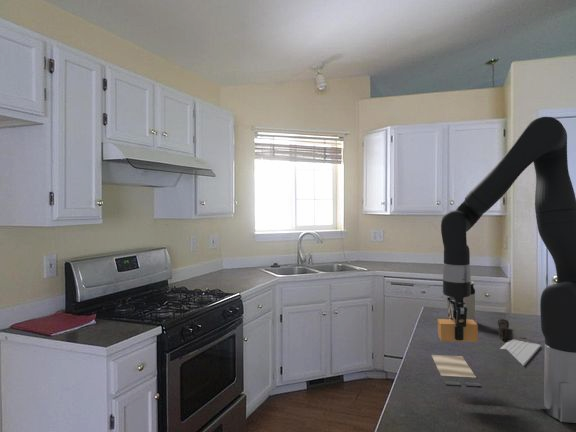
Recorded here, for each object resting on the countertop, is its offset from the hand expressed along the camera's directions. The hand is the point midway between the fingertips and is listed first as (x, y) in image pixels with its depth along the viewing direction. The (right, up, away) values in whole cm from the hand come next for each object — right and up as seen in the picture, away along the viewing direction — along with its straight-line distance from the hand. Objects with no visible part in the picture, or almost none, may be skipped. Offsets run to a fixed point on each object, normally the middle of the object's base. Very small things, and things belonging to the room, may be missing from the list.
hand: (456, 336), depth 122 cm
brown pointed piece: (+38, -13, +45) cm, 60 cm away
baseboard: (+28, -14, +23) cm, 39 cm away
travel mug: (+29, -12, +63) cm, 70 cm away
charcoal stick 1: (-2, -14, -2) cm, 14 cm away
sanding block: (0, -1, 0) cm, 1 cm away
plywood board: (+3, -14, +11) cm, 18 cm away
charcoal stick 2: (+3, -13, -3) cm, 14 cm away
